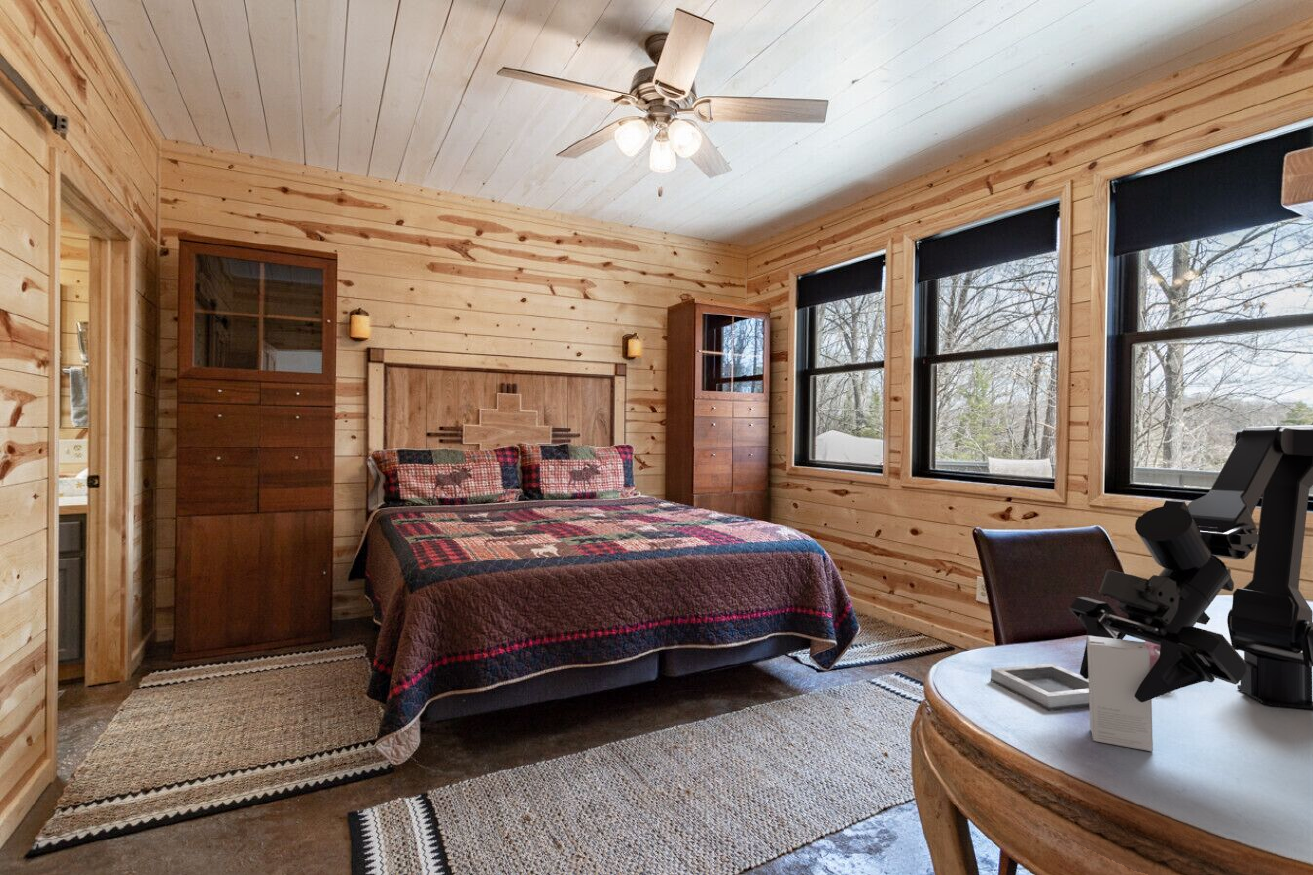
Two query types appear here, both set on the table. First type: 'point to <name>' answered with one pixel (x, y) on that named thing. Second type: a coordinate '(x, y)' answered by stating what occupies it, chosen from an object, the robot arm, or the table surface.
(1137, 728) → the skincare box
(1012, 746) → the table surface
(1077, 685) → the collar
